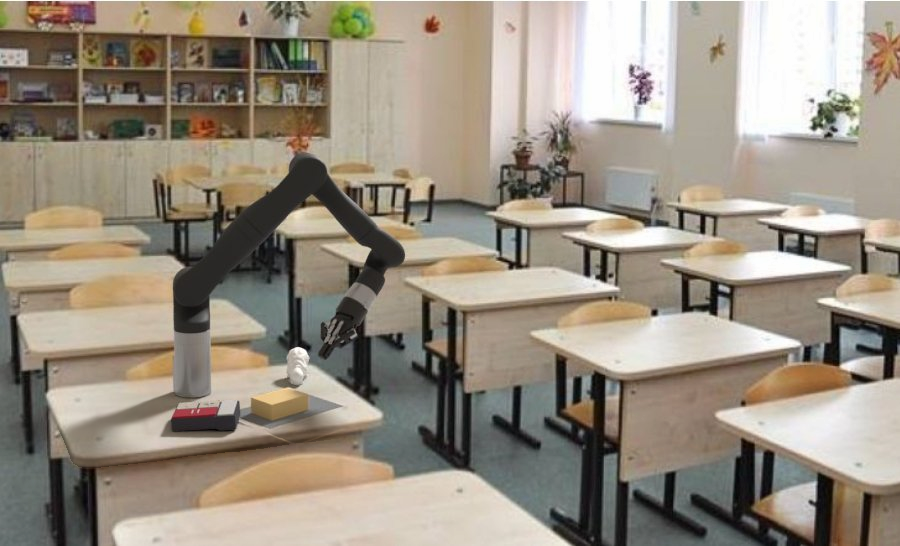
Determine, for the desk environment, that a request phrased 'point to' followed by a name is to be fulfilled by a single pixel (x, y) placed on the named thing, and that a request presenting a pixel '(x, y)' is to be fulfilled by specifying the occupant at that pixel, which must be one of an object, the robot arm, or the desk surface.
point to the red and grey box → (206, 415)
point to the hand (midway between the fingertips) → (321, 357)
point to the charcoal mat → (315, 408)
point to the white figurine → (297, 365)
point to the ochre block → (279, 403)
